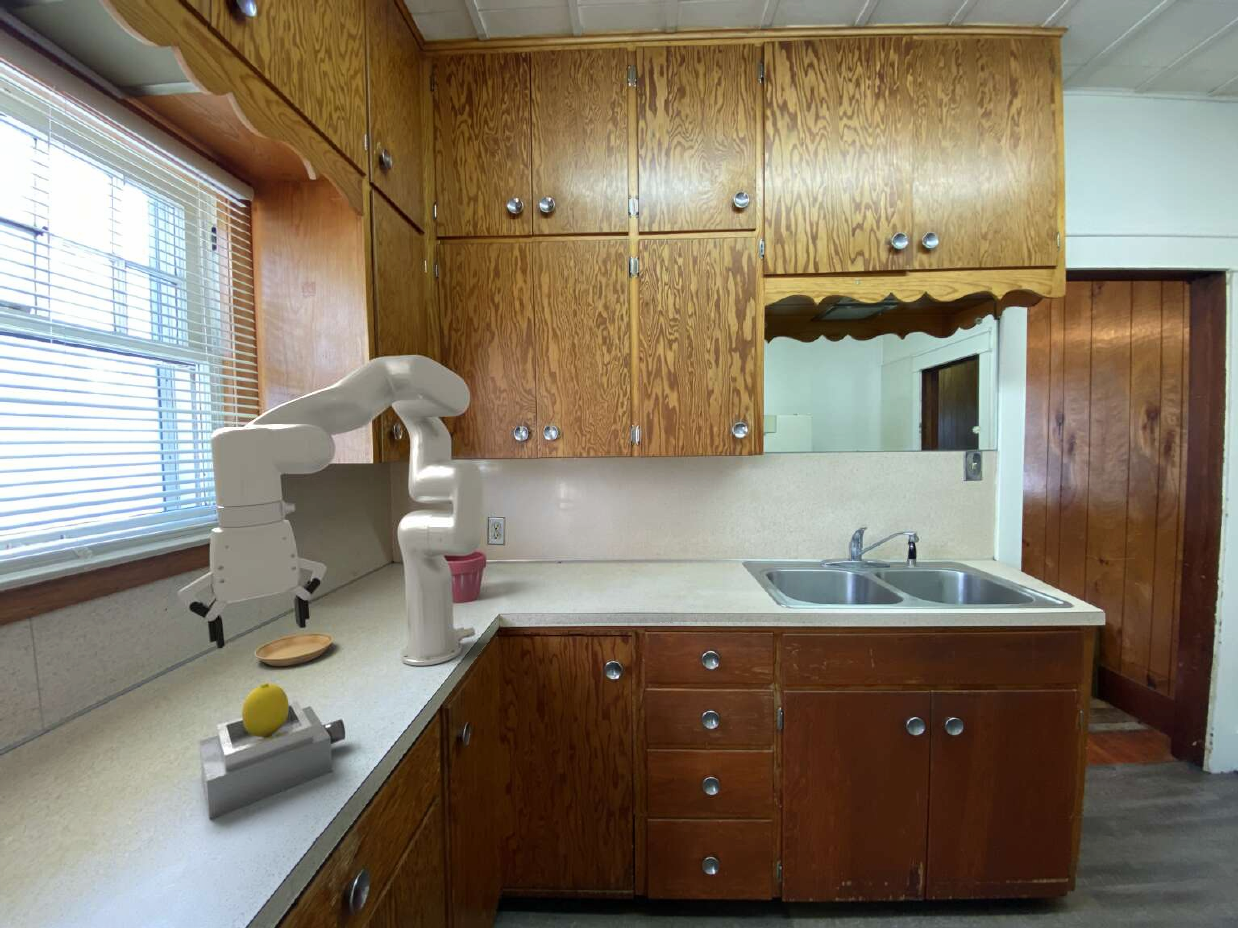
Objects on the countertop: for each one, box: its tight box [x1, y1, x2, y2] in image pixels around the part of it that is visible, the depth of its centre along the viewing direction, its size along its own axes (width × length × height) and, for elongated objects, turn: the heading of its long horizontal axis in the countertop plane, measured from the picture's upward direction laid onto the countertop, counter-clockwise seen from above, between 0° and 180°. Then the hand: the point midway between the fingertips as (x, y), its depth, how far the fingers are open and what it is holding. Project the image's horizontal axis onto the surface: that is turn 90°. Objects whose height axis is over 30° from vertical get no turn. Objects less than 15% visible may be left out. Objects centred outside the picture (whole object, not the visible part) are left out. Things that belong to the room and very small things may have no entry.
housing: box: [198, 700, 346, 820], centre depth 77 cm, size 17×12×7 cm
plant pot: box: [443, 550, 487, 604], centre depth 156 cm, size 14×14×13 cm
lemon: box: [241, 682, 290, 738], centre depth 76 cm, size 6×6×8 cm
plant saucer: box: [254, 632, 334, 667], centre depth 118 cm, size 15×15×3 cm
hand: (262, 634), depth 76 cm, fingers open, 9 cm apart
